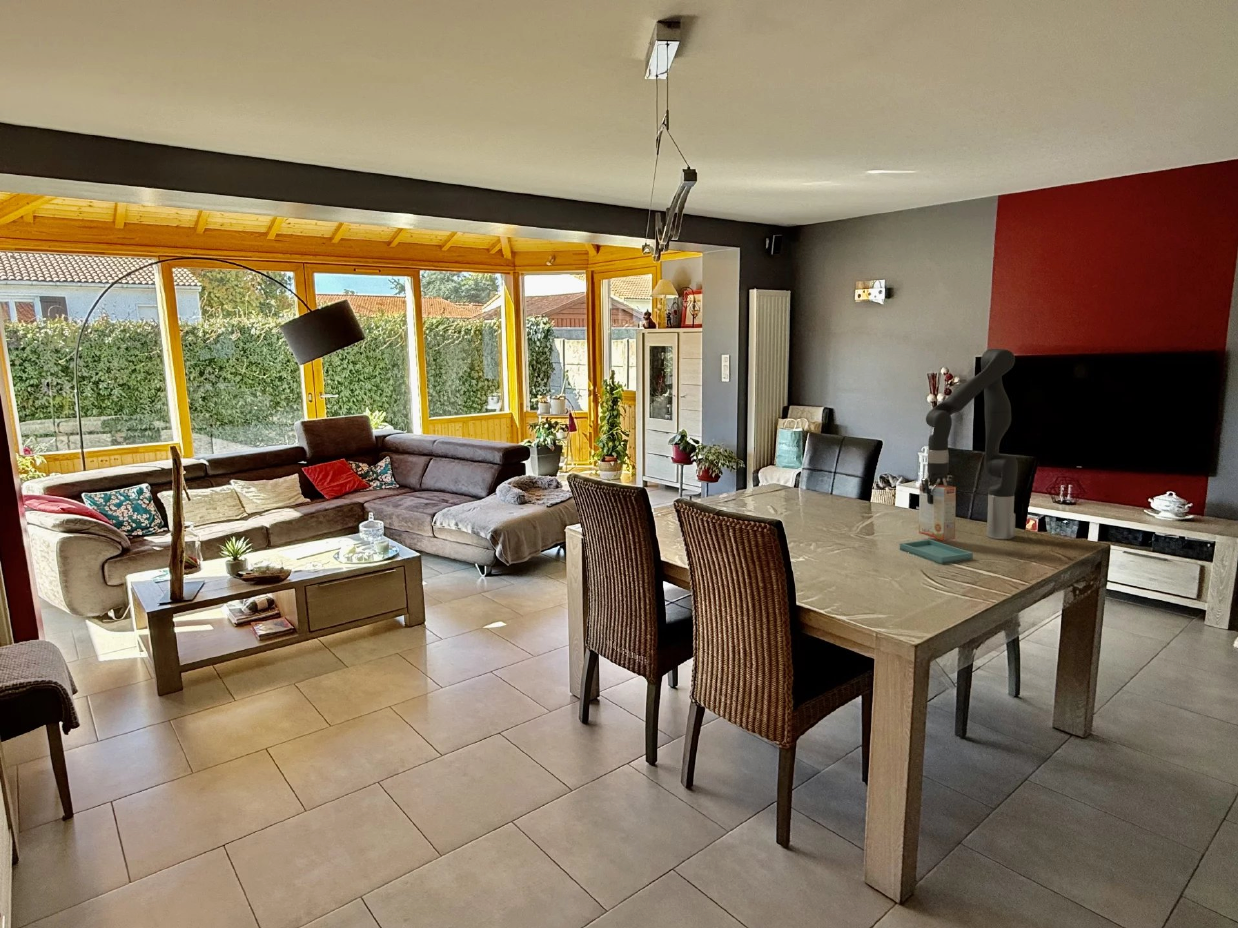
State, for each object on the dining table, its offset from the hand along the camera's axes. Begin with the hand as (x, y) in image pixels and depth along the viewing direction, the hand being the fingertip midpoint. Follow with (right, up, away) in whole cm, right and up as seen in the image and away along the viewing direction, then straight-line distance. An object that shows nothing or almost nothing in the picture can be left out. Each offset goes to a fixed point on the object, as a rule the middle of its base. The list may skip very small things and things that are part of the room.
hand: (937, 502), depth 290 cm
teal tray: (-7, -19, -15) cm, 25 cm away
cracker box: (+1, -14, +2) cm, 14 cm away
